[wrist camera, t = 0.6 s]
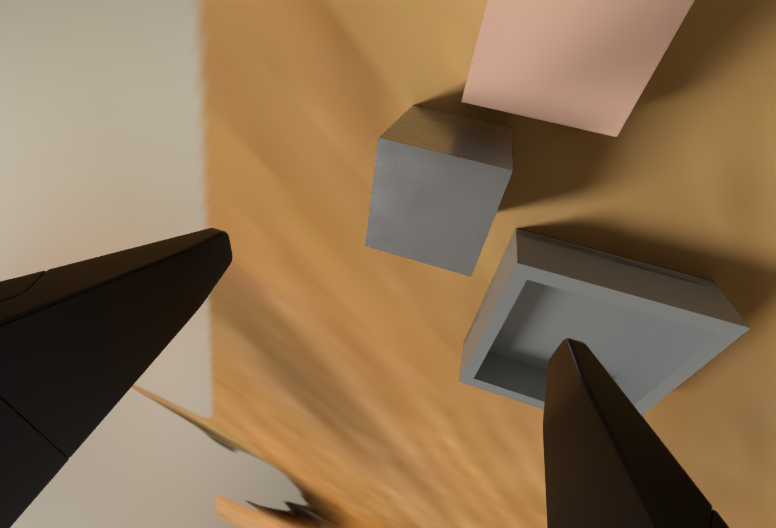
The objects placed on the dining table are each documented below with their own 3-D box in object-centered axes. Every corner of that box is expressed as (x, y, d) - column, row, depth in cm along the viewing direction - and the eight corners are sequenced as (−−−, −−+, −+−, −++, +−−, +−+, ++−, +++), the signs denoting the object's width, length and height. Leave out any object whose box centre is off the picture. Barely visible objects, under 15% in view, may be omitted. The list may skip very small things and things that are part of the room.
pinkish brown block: (661, -10, 12) (704, -17, 10) (597, 115, 15) (616, 137, 13) (502, -37, 13) (501, -51, 11) (468, 87, 16) (461, 101, 13)
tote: (713, 281, 18) (750, 328, 15) (605, 388, 24) (617, 434, 22) (515, 228, 19) (517, 263, 17) (463, 343, 26) (458, 381, 23)
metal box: (511, 127, 16) (513, 170, 12) (479, 214, 20) (470, 276, 15) (413, 105, 17) (378, 137, 12) (397, 193, 20) (365, 245, 16)
